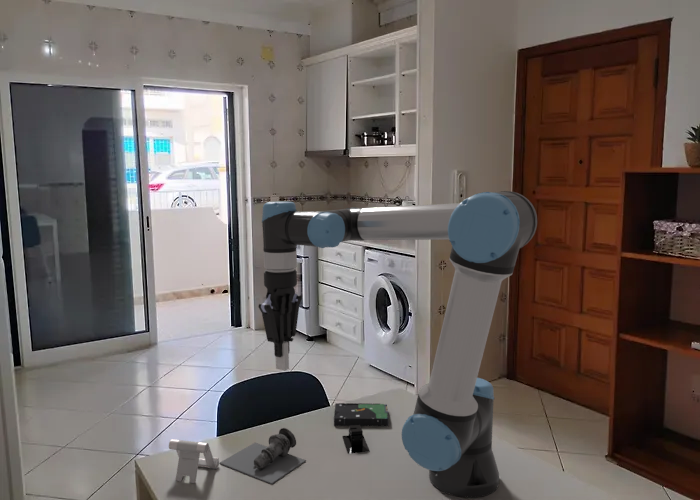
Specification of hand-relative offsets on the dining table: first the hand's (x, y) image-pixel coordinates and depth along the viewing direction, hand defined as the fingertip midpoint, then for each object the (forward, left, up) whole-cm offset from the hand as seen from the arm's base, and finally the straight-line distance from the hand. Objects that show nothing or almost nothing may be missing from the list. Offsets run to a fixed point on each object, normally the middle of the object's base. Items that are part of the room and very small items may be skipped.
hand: (282, 368), depth 134 cm
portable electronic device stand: (+12, +17, -22) cm, 30 cm away
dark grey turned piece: (0, -2, -18) cm, 18 cm away
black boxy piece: (-11, -15, -23) cm, 29 cm away
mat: (+2, +5, -22) cm, 22 cm away
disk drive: (-4, -28, -23) cm, 36 cm away
